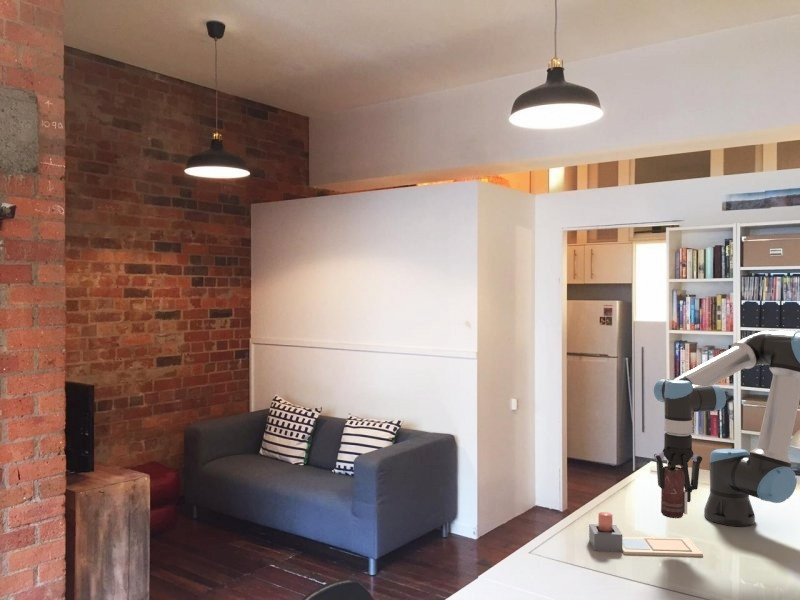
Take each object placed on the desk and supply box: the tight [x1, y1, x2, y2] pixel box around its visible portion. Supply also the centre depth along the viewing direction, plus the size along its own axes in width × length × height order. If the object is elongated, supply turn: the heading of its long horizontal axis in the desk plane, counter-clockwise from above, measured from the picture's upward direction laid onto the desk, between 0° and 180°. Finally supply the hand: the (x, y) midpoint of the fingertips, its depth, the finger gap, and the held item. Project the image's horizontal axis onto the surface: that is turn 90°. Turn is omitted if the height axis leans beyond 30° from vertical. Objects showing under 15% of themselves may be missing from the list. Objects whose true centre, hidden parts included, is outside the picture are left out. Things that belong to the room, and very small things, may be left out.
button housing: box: [588, 523, 623, 553], centre depth 199 cm, size 8×8×5 cm
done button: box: [597, 511, 613, 532], centre depth 199 cm, size 4×4×4 cm
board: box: [622, 536, 704, 558], centre depth 197 cm, size 22×12×1 cm, turn 85°
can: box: [660, 465, 685, 519], centre depth 197 cm, size 6×6×14 cm
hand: (677, 512), depth 197 cm, fingers open, 3 cm apart
